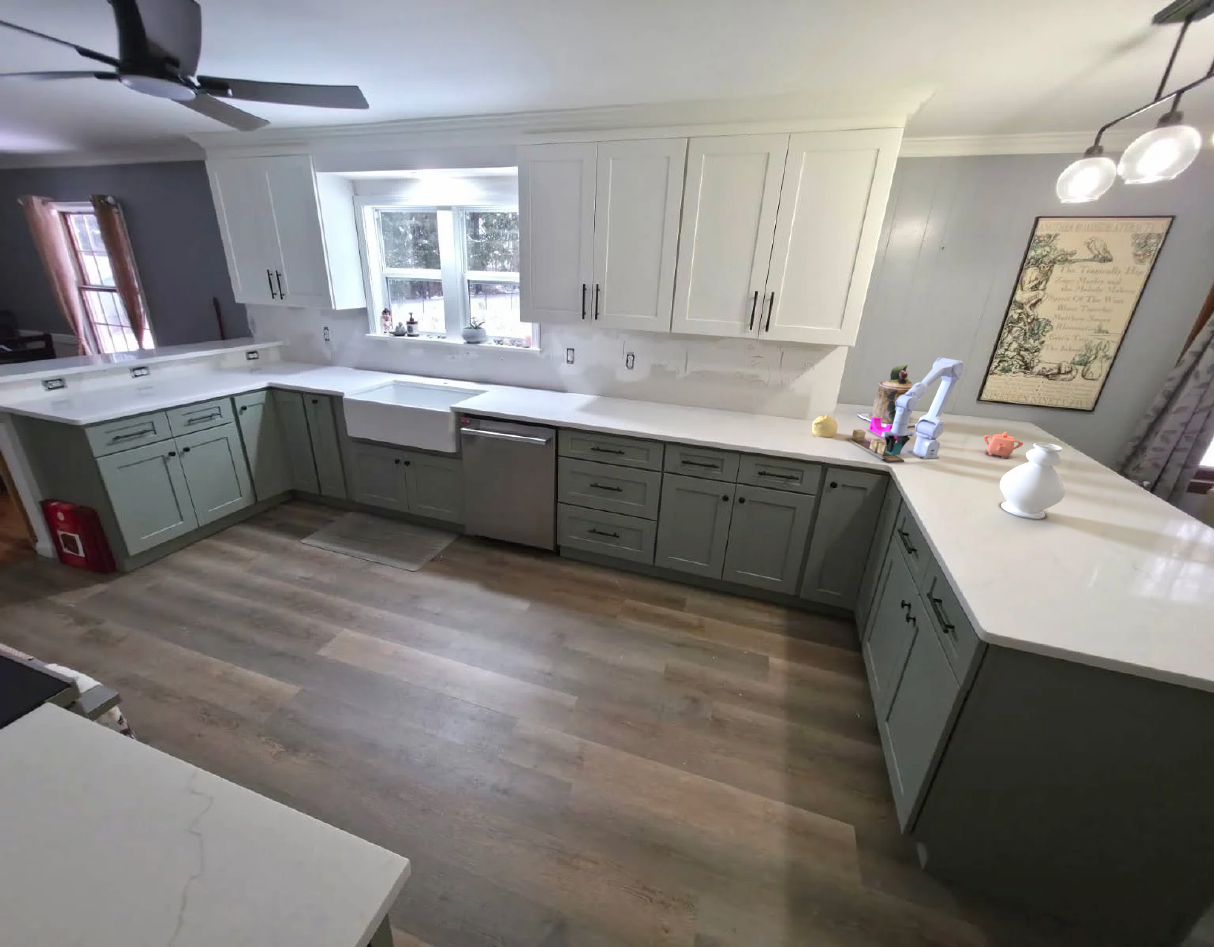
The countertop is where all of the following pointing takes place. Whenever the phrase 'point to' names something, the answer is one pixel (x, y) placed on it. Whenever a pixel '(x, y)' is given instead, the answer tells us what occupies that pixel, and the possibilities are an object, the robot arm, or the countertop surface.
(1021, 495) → the decorative vase
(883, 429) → the toy block
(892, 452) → the teal cube
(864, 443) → the board
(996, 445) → the teapot
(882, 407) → the cookie jar
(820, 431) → the pale yellow lumpy ball
